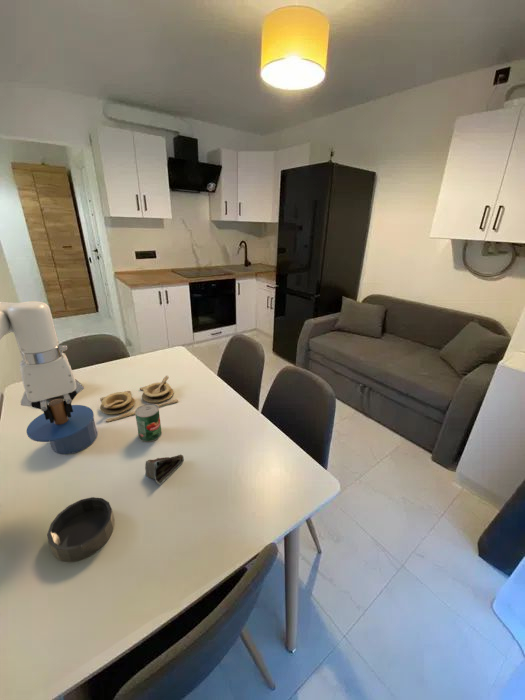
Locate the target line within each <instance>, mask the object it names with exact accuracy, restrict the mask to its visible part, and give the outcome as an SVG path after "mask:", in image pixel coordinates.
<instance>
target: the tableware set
mask: <svg viewBox="0 0 525 700" xmlns="http://www.w3.org/2000/svg"><path fill="white" fill-rule="evenodd" d="M168 379H169V375H165V376H164V377H163V379H162V381H160V382H153V383H150V384H149V385H145V386H142V387H139V390H140V391H142V394H141V398H142V400H143V401H144V402H147V403H148V404H155V405H157V406H158V407H159V408H161V407H165V406H168V405H173V404H176V403H178V402H179V399H176V398H175V399H172V400H169V399H171V398H172V397H173V396H174V394H175V393H174V389H173V388H172V386H171V385H170V384H169V383H168V382H167V381H168ZM100 401H101V402H100V403H101V404H100V406H99V410H100V412H102V413H103V414H106V415H117V416H112V417H109V418H107V419H105V422H106V423H110V422H114V421H117V420H121V419H124V418H128V417H131V416H136V415H135V410H132V411H129V410H130V409H132V408H133V407H134V406H135V404H136V400H135V398H134V397H133V395H132V393H131V390H126V391H117V392H112V393H110V394H108V395H106V396H103V397H100ZM118 414H120V415H118Z"/></svg>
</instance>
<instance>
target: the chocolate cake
mask: <svg viewBox="0 0 525 700" xmlns="http://www.w3.org/2000/svg"><path fill="white" fill-rule="evenodd" d="M184 460H185V459H184V455H183V454H177V455H175V456H170V457H169V456H165V457H156V458H154V459H147V460H146V461H145V463H144V464H145V465H144V471H145V477H147V478H150V479H154V480H155V482H156V484H157V485H159V486H160V485H163V484H164V483H165V481H167V480H168V479H169V478H170V477H171V476H172V475H173V474H174V473H175V472H176V470H178V468H180V467H181V466H182V465H183V463H184Z"/></svg>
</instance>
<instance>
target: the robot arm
mask: <svg viewBox="0 0 525 700" xmlns="http://www.w3.org/2000/svg"><path fill="white" fill-rule="evenodd" d="M10 333H13V335H14V338H15V341H16V343H17V347H18V350H19V353H20V356H21V359H22V360H21V361H20V362H19V370H20V376H21V381H22V384H23V388H24V392H23V394H22V396H21V399H20V406H22V407H32V408H35V409H38V410H41V411H42V412H43V413H44V415H45V418H46V420H48V419H50V423H53V422H54V420H53V417H52V414H51V410H50V407H49V403H47V400H50V399H53V398H57V397H63V400H64V405H65V408H66V412H67V415H68V417H71V413H70V412H73V409H72V405H73V404H72V402H73V401H74V399H75V398H76V396H77V395H78V394H79V393H81V392H83V390H84V389H85V387H84V384H82V383H81V382H80V381H79V380H77V379H76V378H75V375H74V372H73V369H72V367H71V363H70V362H69V359H68V357H67V355H66V353H64V352H65V351H68V349H69V348H68V345H67V344H64V345H63V344H60V343H59V338H58V335H57V330H56V326H55V323H54V319H53V315H52V311H51V308H50V306H49V305H48V304H47V303H46V302H44V301H39V300H30V301H21V302H10V301H8V302H7V301H0V340H1V339H2V338H4V336H7V335H8V334H10ZM61 395H63V396H61Z"/></svg>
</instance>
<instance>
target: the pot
mask: <svg viewBox="0 0 525 700" xmlns="http://www.w3.org/2000/svg"><path fill="white" fill-rule="evenodd" d="M97 437H98V431H97V427H96V421H95V416H94V417H93V420H92V422H91V423H90V424H89V425H88V426H87V427H86V428H85V429H84V430H82V431H81V432H79V433H77V434H75V435H73V436H70V437H68V438H65V439H62V440H58V441H52V442H49V443H50V446H51V449H52V451H53V452H54V453H56V454H58V455H70V454H75V453H79V452H81V451H84V450H85V449H87V448H88V447H90V446H91V445H93V443H94V442H95V441H96V440H97Z"/></svg>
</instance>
